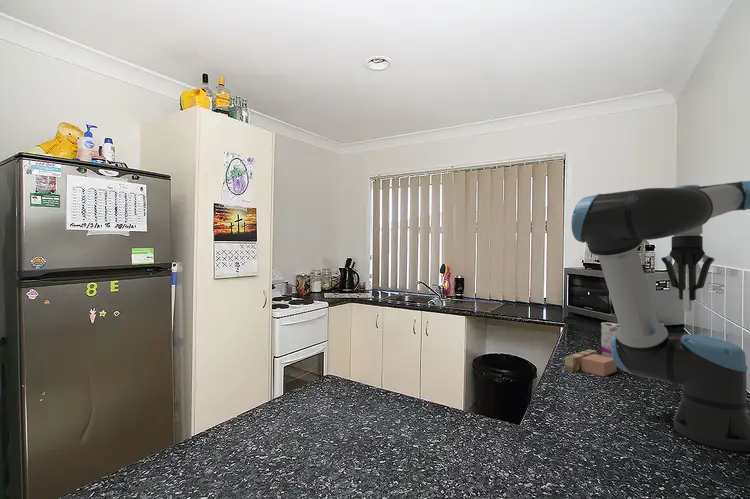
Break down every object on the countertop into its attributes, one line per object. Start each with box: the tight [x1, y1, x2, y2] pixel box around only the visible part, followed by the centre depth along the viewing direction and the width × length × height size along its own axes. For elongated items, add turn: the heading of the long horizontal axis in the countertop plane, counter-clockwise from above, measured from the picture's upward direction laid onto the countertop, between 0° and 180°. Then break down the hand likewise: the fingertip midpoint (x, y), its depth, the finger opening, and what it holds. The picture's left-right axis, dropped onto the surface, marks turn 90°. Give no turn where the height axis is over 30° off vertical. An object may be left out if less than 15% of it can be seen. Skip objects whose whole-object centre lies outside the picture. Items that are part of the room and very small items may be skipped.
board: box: [564, 349, 598, 373], centre depth 146 cm, size 19×3×5 cm, turn 126°
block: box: [580, 353, 618, 377], centre depth 141 cm, size 10×8×5 cm
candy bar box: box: [600, 321, 620, 368], centre depth 147 cm, size 11×5×16 cm, turn 25°
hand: (687, 310), depth 117 cm, fingers closed
